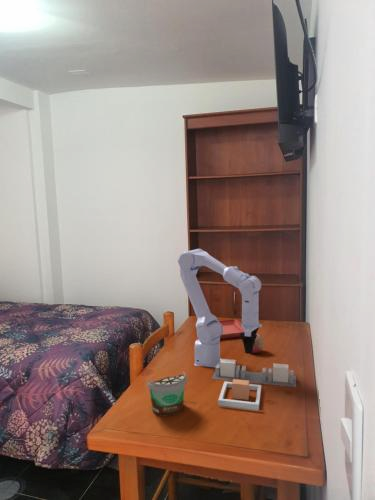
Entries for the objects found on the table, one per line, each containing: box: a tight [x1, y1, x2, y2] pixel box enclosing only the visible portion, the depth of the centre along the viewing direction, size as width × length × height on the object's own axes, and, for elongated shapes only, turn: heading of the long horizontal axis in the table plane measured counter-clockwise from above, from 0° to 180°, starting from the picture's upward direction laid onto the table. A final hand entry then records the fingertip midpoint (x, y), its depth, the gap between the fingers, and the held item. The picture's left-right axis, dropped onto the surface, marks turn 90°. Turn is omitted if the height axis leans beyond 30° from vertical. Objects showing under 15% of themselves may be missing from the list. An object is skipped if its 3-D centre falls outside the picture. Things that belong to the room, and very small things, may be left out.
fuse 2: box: [272, 362, 290, 383], centre depth 128 cm, size 5×3×5 cm, turn 76°
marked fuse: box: [231, 379, 250, 401], centre depth 118 cm, size 5×3×5 cm, turn 76°
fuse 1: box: [220, 358, 237, 377], centre depth 133 cm, size 5×3×5 cm, turn 76°
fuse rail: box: [211, 363, 297, 388], centre depth 131 cm, size 28×8×4 cm, turn 76°
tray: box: [217, 380, 262, 412], centre depth 118 cm, size 12×12×2 cm
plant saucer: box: [218, 318, 245, 340], centre depth 177 cm, size 18×18×3 cm
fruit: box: [251, 333, 265, 355], centre depth 153 cm, size 8×8×8 cm
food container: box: [146, 371, 188, 417], centre depth 111 cm, size 12×6×10 cm, turn 117°
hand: (249, 349), depth 133 cm, fingers open, 7 cm apart
